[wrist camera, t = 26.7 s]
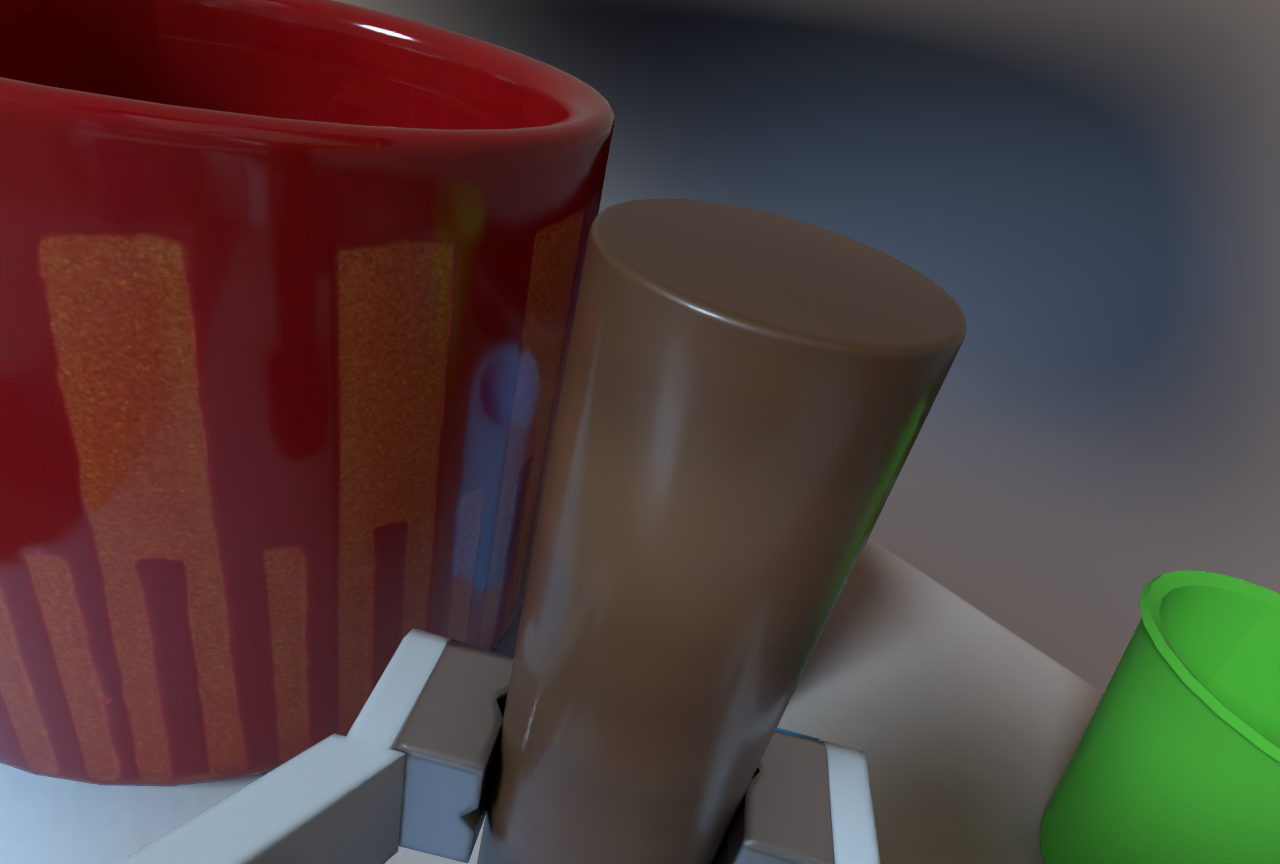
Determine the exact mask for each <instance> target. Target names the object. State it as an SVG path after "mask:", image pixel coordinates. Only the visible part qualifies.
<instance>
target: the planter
mask: <svg viewBox="0 0 1280 864" xmlns="http://www.w3.org/2000/svg"><path fill="white" fill-rule="evenodd" d="M614 122H615V119H614V114H613V112H612V110H611V107H610V105H609V103H608V102H607V100H606V99H605V98H604V97H603V96H602V95H600V94H599V93H598V92H597V91H596V90H595V89H594V88H592V87H591V86H589V85H587V84H586V83H584V82H582V81H581V80H579V79H577V78H576V77H574V76H572V75H570V74H567V73H566V72H563V71H561V70H559V69H557V68H555V67H553V66H550V65H548V64H546V63H543V62H541V61H538V60H535V59H533V58H530V57H528V56H525V55H523V54H520V53H517V52H514V51H511V50H508V49H506V48H503V47H500V46H497V45H494V44H491V43H488V42H485V41H482V40H479V39H475V38H472V37H469V36H466V35H463V34H459V33H456V32H452V31H449V30H446V29H442V28H439V27H435V26H432V25H428V24H425V23H421V22H417V21H413V20H410V19H406V18H402V17H398V16H394V15H391V14H387V13H383V12H379V11H374V10H370V9H367V8H362V7H358V6H354V5H350V4H346V3H342V2H337V1H333V0H0V763H2V764H5V765H8V766H11V767H14V768H17V769H20V770H23V771H26V772H29V773H32V774H36V775H41V776H47V777H54V778H60V779H66V780H73V781H79V782H85V783H92V784H98V785H120V786H177V785H186V784H195V783H204V782H212V781H221V780H230V779H239V778H243V777H248V776H252V775H256V774H260V773H264V772H268V771H272V770H274V769H275V768H277V767H279V766H280V765H282V764H284V763H285V762H287V761H289V760H290V759H292V758H294V757H296V756H297V755H299V754H301V753H302V752H304V751H306V750H307V749H309V748H311V747H312V746H314V745H316V744H317V743H319V742H321V741H322V740H324V739H326V738H327V737H329V736H331V735H332V734H334V733H335V734H339V735H343V736H347V734H348V732H349V731H350V729H351V727H352V726H353V724H354V722H355V721H356V719H357V717H358V715H359V714H360V712H361V710H362V709H363V707H364V705H365V703H366V702H367V700H368V698H369V697H370V695H371V693H372V691H373V690H374V688H375V686H376V685H377V683H378V681H379V679H380V678H381V676H382V674H383V673H384V671H385V669H386V667H387V666H388V664H389V662H390V661H391V659H392V657H393V655H394V654H395V652H396V650H397V649H398V647H399V645H400V643H401V642H402V640H403V638H404V637H405V636H406V635H407V634H408V633H409V632H410V631H411V630H412V629H413V628H415V629H419V630H422V631H426V632H429V633H433V634H436V635H440V636H443V637H446V638H450V639H454V640H457V641H461V642H464V643H467V644H471V645H474V646H477V647H480V648H484V649H487V650H490V651H491V650H492V649H493V647H494V646H495V645H496V643H497V642H498V641H499V639H500V638H501V637H502V635H503V634H504V633H505V631H506V630H507V629H508V627H509V626H510V624H511V623H512V621H513V619H514V617H515V615H516V613H517V611H518V609H519V607H520V605H521V603H522V601H523V598H524V596H525V591H526V586H527V580H528V574H529V569H530V563H531V557H532V552H533V546H534V541H535V535H536V529H537V524H538V518H539V512H540V507H541V501H542V496H543V490H544V484H545V479H546V473H547V467H548V462H549V456H550V450H551V445H552V439H553V434H554V428H555V422H556V417H557V411H558V405H559V400H560V394H561V389H562V383H563V377H564V372H565V366H566V360H567V355H568V349H569V344H570V338H571V332H572V327H573V321H574V315H575V310H576V304H577V299H578V293H579V287H580V282H581V276H582V270H583V265H584V259H585V253H586V248H587V242H588V237H589V231H590V227H591V225H592V223H593V221H594V220H595V218H596V217H597V215H598V213H599V207H600V202H601V196H602V190H603V185H604V179H605V173H606V167H607V162H608V156H609V151H610V145H611V139H612V134H613V129H614Z"/></svg>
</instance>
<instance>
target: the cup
mask: <svg viewBox="0 0 1280 864" xmlns="http://www.w3.org/2000/svg"><path fill="white" fill-rule="evenodd" d="M1139 604H1140V608H1141V614H1142V619H1141V621H1140V623H1139V625H1138V627H1137V629H1136V631H1135V633H1134V635H1133V637H1132V639H1131V641H1130V643H1129V645H1128V647H1127V649H1126V651H1125V653H1124V655H1123V657H1122V659H1121V661H1120V663H1119V665H1118V667H1117V669H1116V671H1115V673H1114V675H1113V677H1112V679H1111V681H1110V683H1109V685H1108V687H1107V689H1106V691H1105V693H1104V695H1103V697H1102V699H1101V701H1100V703H1099V705H1098V707H1097V709H1096V711H1095V713H1094V715H1093V717H1092V719H1091V721H1090V723H1089V725H1088V727H1087V729H1086V731H1085V733H1084V735H1083V737H1082V739H1081V741H1080V743H1079V745H1078V747H1077V749H1076V751H1075V753H1074V755H1073V757H1072V759H1071V761H1070V763H1069V765H1068V767H1067V769H1066V771H1065V773H1064V775H1063V777H1062V779H1061V781H1060V783H1059V785H1058V787H1057V789H1056V791H1055V793H1054V795H1053V797H1052V799H1051V801H1050V803H1049V805H1048V807H1047V809H1046V811H1045V813H1044V816H1043V819H1042V822H1041V851H1042V854H1043V858H1044V862H1045V864H1280V594H1278V593H1276V592H1274V591H1271V590H1269V589H1266V588H1263V587H1260V586H1258V585H1255V584H1252V583H1249V582H1246V581H1243V580H1240V579H1237V578H1233V577H1229V576H1225V575H1220V574H1215V573H1211V572H1204V571H1189V570H1181V571H1177V572H1172V573H1167V574H1163V575H1160V576H1158V577H1156V578H1154V579H1153V580H1152V581H1151V582H1149V583H1148V584H1147V585H1145V586H1144V588H1143V591H1142V594H1141V598H1140V602H1139Z"/></svg>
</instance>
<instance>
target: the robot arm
mask: <svg viewBox="0 0 1280 864" xmlns="http://www.w3.org/2000/svg"><path fill="white" fill-rule="evenodd" d="M513 659H514V657H510V656H507V655H504V654H500V653H497V652H494V651H490V650H487V649H484V648H480V647H477V646H474V645H471V644H467V643H464V642H461V641H457V640H454V639H450V638H446V637H443V636H440V635H436V634H433V633H429V632H426V631H422V630H419V629H415V628H413V629H412V630H411V631H410V632H409V633H408V634H407V635H406V636H405V637H404V638H403V640H402V642H401V643H400V645H399V647H398V649H397V650H396V652H395V654H394V655H393V657H392V659H391V661H390V662H389V664H388V666H387V667H386V669H385V671H384V673H383V674H382V676H381V678H380V679H379V681H378V683H377V685H376V686H375V688H374V690H373V691H372V693H371V695H370V697H369V698H368V700H367V702H366V703H365V705H364V707H363V709H362V710H361V712H360V714H359V715H358V717H357V719H356V721H355V722H354V724H353V726H352V727H351V729H350V731H349V732H348V734H347V736H343V735H339V734H335V733H334V734H332V735H331V736H329V737H327V738H326V739H324V740H322V741H321V742H319V743H317V744H316V745H314V746H312V747H311V748H309V749H307V750H306V751H304V752H302V753H301V754H299V755H297V756H296V757H294V758H292V759H290V760H289V761H287V762H285V763H284V764H282V765H280V766H279V767H277V768H275V769H274V770H272V771H270V772H269V773H267V774H265V775H264V776H262V777H260V778H259V779H257V780H255V781H254V782H252V783H250V784H249V785H247V786H245V787H244V788H242V789H240V790H239V791H237V792H235V793H234V794H232V795H230V796H229V797H227V798H225V799H224V800H222V801H220V802H219V803H217V804H215V805H214V806H212V807H210V808H209V809H207V810H205V811H204V812H202V813H200V814H199V815H197V816H195V817H194V818H192V819H190V820H189V821H187V822H185V823H184V824H182V825H180V826H179V827H177V828H175V829H174V830H172V831H170V832H169V833H167V834H165V835H164V836H162V837H160V838H159V839H157V840H155V841H153V842H152V843H150V844H148V845H147V846H145V847H143V848H142V849H140V850H138V851H137V852H135V853H133V854H132V855H130V856H128V857H127V858H125V859H123V860H122V861H120V862H118V864H384V863H385V862H386V861H387V860H388V859H390V858H391V857H392V856H393V855H394V854H395V853H396V852H398V846H400V847H404V848H408V849H412V850H416V851H420V852H424V853H428V854H432V855H436V856H440V857H444V858H448V859H452V860H456V861H460V862H464V863H468V862H469V859H470V856H471V854H472V851H473V848H474V845H475V843H476V840H477V837H478V834H479V831H480V829H481V826H482V823H483V820H484V818H485V815H486V812H487V807H488V802H489V796H490V791H491V785H492V779H493V771H494V766H495V760H496V757H497V752H498V746H499V740H500V735H501V729H502V723H503V715H504V709H505V704H506V698H507V693H508V687H509V681H510V676H511V670H512V664H513ZM711 864H881V861H880V854H879V846H878V839H877V831H876V824H875V816H874V809H873V801H872V794H871V786H870V779H869V771H868V764H867V759H866V757H865V756H864V754H863V752H862V751H859V750H855V749H851V748H848V747H844V746H840V745H837V744H833V743H829V742H826V741H820V740H819V739H818V738H814V737H810V736H806V735H802V734H798V733H794V732H791V731H787V730H783V729H779V728H776V730H775V732H774V734H773V736H772V738H771V740H770V742H769V744H768V746H767V749H766V751H765V753H764V755H763V757H762V759H761V761H760V763H759V765H758V767H757V769H756V771H755V773H754V775H753V778H752V780H751V782H750V784H749V786H748V788H747V790H746V792H745V794H744V796H743V798H742V800H741V802H740V804H739V806H738V809H737V811H736V813H735V815H734V817H733V819H732V821H731V823H730V825H729V827H728V829H727V831H726V833H725V835H724V838H723V840H722V842H721V844H720V846H719V848H718V850H717V852H716V854H715V856H714V858H713V860H712V862H711Z"/></svg>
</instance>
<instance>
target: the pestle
mask: <svg viewBox="0 0 1280 864" xmlns="http://www.w3.org/2000/svg"><path fill="white" fill-rule="evenodd" d="M965 335H966V319H965V316H964V313H963V311H962V309H961V308H960V306H959V305H958V304H957V303H956V301H955V300H954V299H953V298H952V297H951V296H950V295H949V294H948V293H946V291H944V290H943V289H942V288H941V287H939V286H938V285H937V284H935V283H934V282H933V281H931V280H930V279H929V278H927V277H926V276H924V275H923V274H921V273H920V272H918V271H917V270H915V269H913V268H911V267H910V266H908V265H906V264H904V263H903V262H901V261H899V260H897V259H895V258H893V257H891V256H889V255H887V254H885V253H883V252H881V251H879V250H876V249H874V248H872V247H870V246H867V245H865V244H863V243H860V242H858V241H855V240H853V239H850V238H848V237H845V236H842V235H840V234H837V233H834V232H832V231H828V230H826V229H823V228H819V227H817V226H814V225H810V224H807V223H804V222H800V221H797V220H794V219H790V218H786V217H783V216H779V215H775V214H771V213H767V212H762V211H758V210H753V209H748V208H743V207H738V206H733V205H727V204H721V203H713V202H705V201H696V200H686V199H647V200H635V201H629V202H624V203H620V204H617V205H613V206H611V207H609V208H607V209H605V210H603V211H602V212H601V213H600V214H599V215H597V217H596V218H595V220H594V221H593V223H592V225H591V227H590V231H589V237H588V242H587V248H586V253H585V259H584V265H583V270H582V276H581V282H580V287H579V293H578V299H577V304H576V310H575V315H574V321H573V327H572V332H571V338H570V344H569V349H568V355H567V360H566V366H565V372H564V377H563V383H562V389H561V394H560V400H559V405H558V411H557V417H556V422H555V428H554V434H553V439H552V445H551V450H550V456H549V462H548V467H547V473H546V479H545V484H544V490H543V496H542V501H541V507H540V512H539V518H538V524H537V529H536V535H535V541H534V546H533V552H532V557H531V563H530V569H529V574H528V580H527V586H526V591H525V597H524V602H523V608H522V614H521V619H520V625H519V631H518V636H517V642H516V647H515V653H514V659H513V664H512V670H511V676H510V681H509V687H508V693H507V698H506V704H505V709H504V715H503V723H502V729H501V735H500V740H499V746H498V752H497V757H496V760H495V766H494V771H493V779H492V785H491V791H490V796H489V802H488V807H487V812H486V816H485V822H484V828H483V833H482V839H481V844H480V850H479V856H478V861H477V864H711V862H712V860H713V858H714V856H715V854H716V852H717V850H718V848H719V846H720V844H721V842H722V840H723V838H724V835H725V833H726V831H727V829H728V827H729V825H730V823H731V821H732V819H733V817H734V815H735V813H736V811H737V809H738V806H739V804H740V802H741V800H742V798H743V796H744V794H745V792H746V790H747V788H748V786H749V784H750V782H751V780H752V778H753V775H754V773H755V771H756V769H757V767H758V765H759V763H760V761H761V759H762V757H763V755H764V753H765V751H766V749H767V746H768V744H769V742H770V740H771V738H772V736H773V734H774V732H775V730H776V728H777V726H778V724H779V722H780V720H781V717H782V715H783V713H784V711H785V709H786V707H787V705H788V703H789V701H790V699H791V697H792V695H793V693H794V691H795V689H796V686H797V684H798V682H799V680H800V678H801V676H802V674H803V672H804V670H805V668H806V666H807V664H808V662H809V660H810V657H811V655H812V653H813V651H814V649H815V647H816V645H817V643H818V641H819V639H820V637H821V635H822V633H823V631H824V628H825V626H826V624H827V622H828V620H829V618H830V616H831V614H832V612H833V610H834V608H835V606H836V604H837V602H838V600H839V597H840V595H841V593H842V591H843V589H844V587H845V585H846V583H847V581H848V579H849V577H850V575H851V573H852V571H853V568H854V566H855V564H856V562H857V560H858V558H859V556H860V554H861V552H862V550H863V548H864V546H865V544H866V542H867V539H868V537H869V535H870V533H871V531H872V529H873V527H874V525H875V523H876V521H877V519H878V517H879V514H880V512H881V510H882V508H883V506H884V504H885V502H886V500H887V498H888V496H889V494H890V491H891V490H892V488H893V486H894V484H895V482H896V479H897V477H898V475H899V473H900V471H901V469H902V467H903V465H904V463H905V461H906V459H907V457H908V455H909V453H910V450H911V448H912V446H913V444H914V442H915V440H916V438H917V436H918V434H919V432H920V430H921V428H922V425H923V424H924V421H925V419H926V417H927V415H928V413H929V411H930V409H931V407H932V405H933V403H934V401H935V399H936V396H937V394H938V393H939V390H940V388H941V386H942V384H943V382H944V380H945V378H946V376H947V374H948V372H949V370H950V368H951V366H952V363H953V361H954V359H955V357H956V355H957V353H958V351H959V349H960V347H961V345H962V343H963V341H964V338H965Z"/></svg>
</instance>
